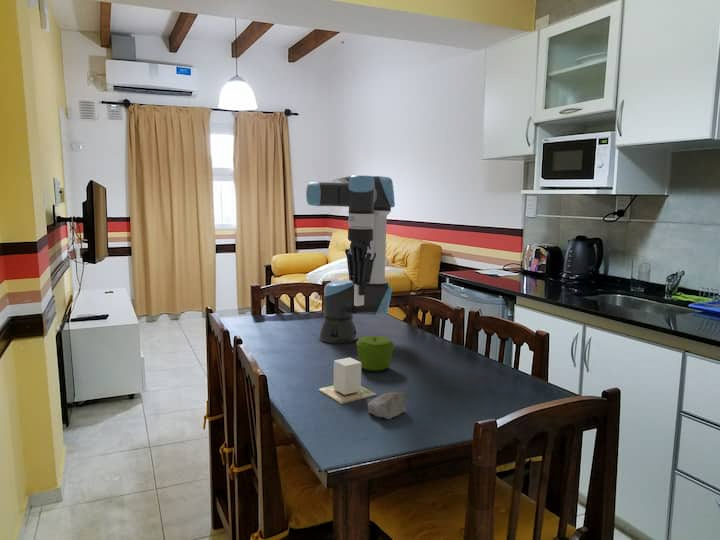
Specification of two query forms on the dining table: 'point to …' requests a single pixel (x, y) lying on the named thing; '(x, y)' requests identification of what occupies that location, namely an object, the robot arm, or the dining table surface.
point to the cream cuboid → (347, 375)
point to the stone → (387, 405)
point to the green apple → (374, 352)
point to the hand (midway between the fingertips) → (358, 305)
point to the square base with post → (348, 397)
